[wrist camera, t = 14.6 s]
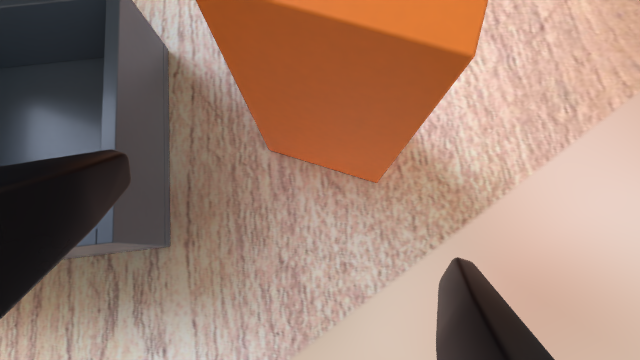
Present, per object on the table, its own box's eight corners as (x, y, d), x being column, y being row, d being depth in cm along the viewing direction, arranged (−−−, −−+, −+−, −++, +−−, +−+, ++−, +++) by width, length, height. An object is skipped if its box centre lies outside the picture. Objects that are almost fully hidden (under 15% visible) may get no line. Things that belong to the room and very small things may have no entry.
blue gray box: (170, 246, 16) (112, 242, 12) (-60, 273, 16) (-210, 280, 11) (168, 49, 19) (120, -17, 14) (-31, 69, 18) (-143, 10, 14)
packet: (377, 183, 17) (475, 57, 6) (268, 150, 17) (182, -23, 7) (394, 123, 18) (509, -84, 7) (289, 92, 18) (244, -147, 7)
